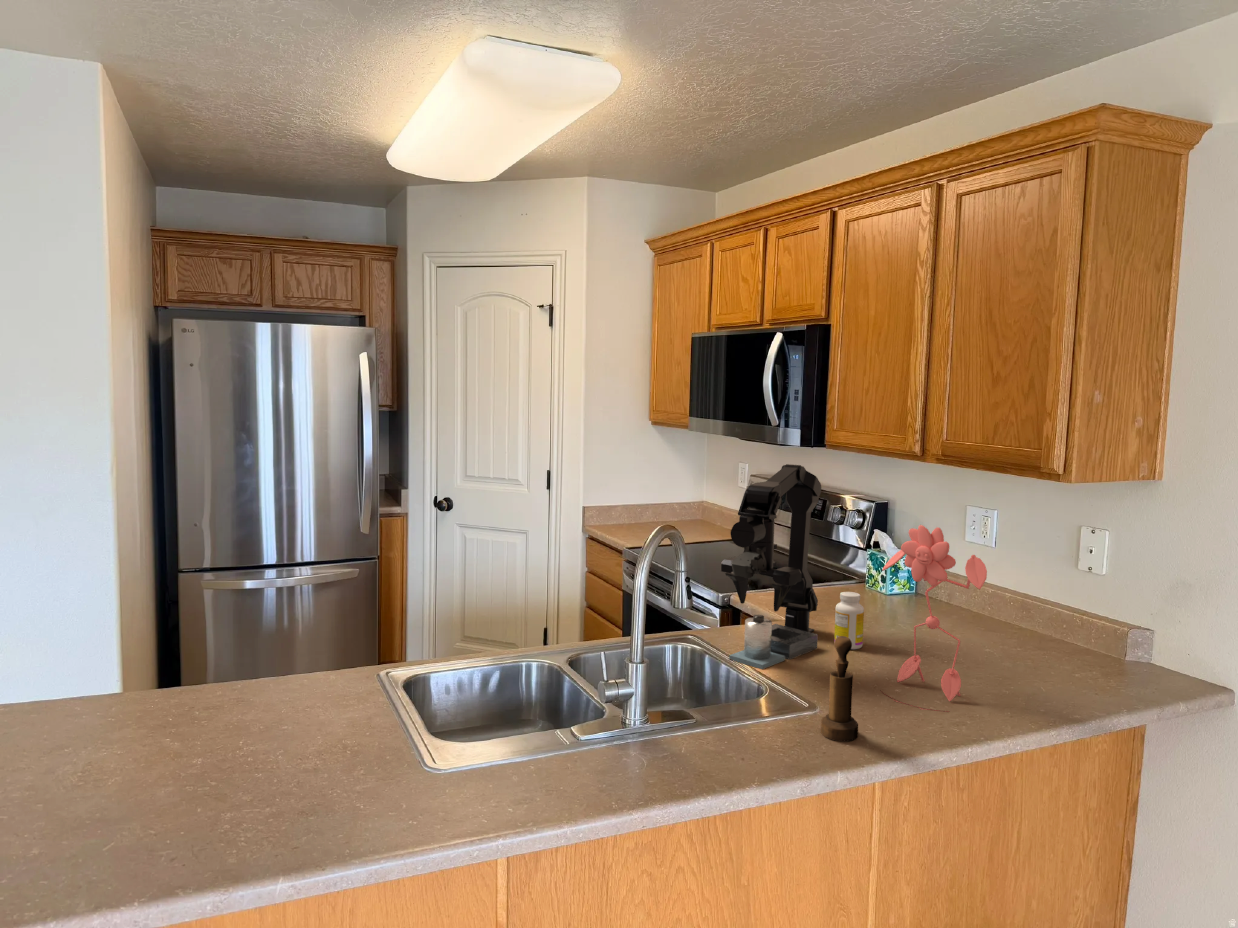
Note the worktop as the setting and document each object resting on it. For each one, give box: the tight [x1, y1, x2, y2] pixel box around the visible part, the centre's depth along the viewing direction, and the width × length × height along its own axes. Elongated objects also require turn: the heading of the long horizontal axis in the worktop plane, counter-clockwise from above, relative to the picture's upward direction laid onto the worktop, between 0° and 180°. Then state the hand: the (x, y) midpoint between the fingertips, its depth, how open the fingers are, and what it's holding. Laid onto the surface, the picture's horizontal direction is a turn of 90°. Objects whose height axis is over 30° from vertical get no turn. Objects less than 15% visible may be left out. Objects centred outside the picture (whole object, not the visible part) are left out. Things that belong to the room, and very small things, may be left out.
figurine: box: [880, 524, 988, 713], centre depth 170 cm, size 15×26×35 cm, turn 30°
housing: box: [771, 623, 819, 660], centre depth 200 cm, size 12×12×4 cm
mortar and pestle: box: [820, 636, 859, 742], centre depth 151 cm, size 7×6×18 cm
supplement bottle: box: [833, 591, 865, 650], centre depth 202 cm, size 7×7×13 cm
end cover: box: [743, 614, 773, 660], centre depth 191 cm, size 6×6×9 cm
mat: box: [728, 649, 786, 670], centre depth 191 cm, size 9×9×1 cm
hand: (759, 607), depth 192 cm, fingers open, 9 cm apart
